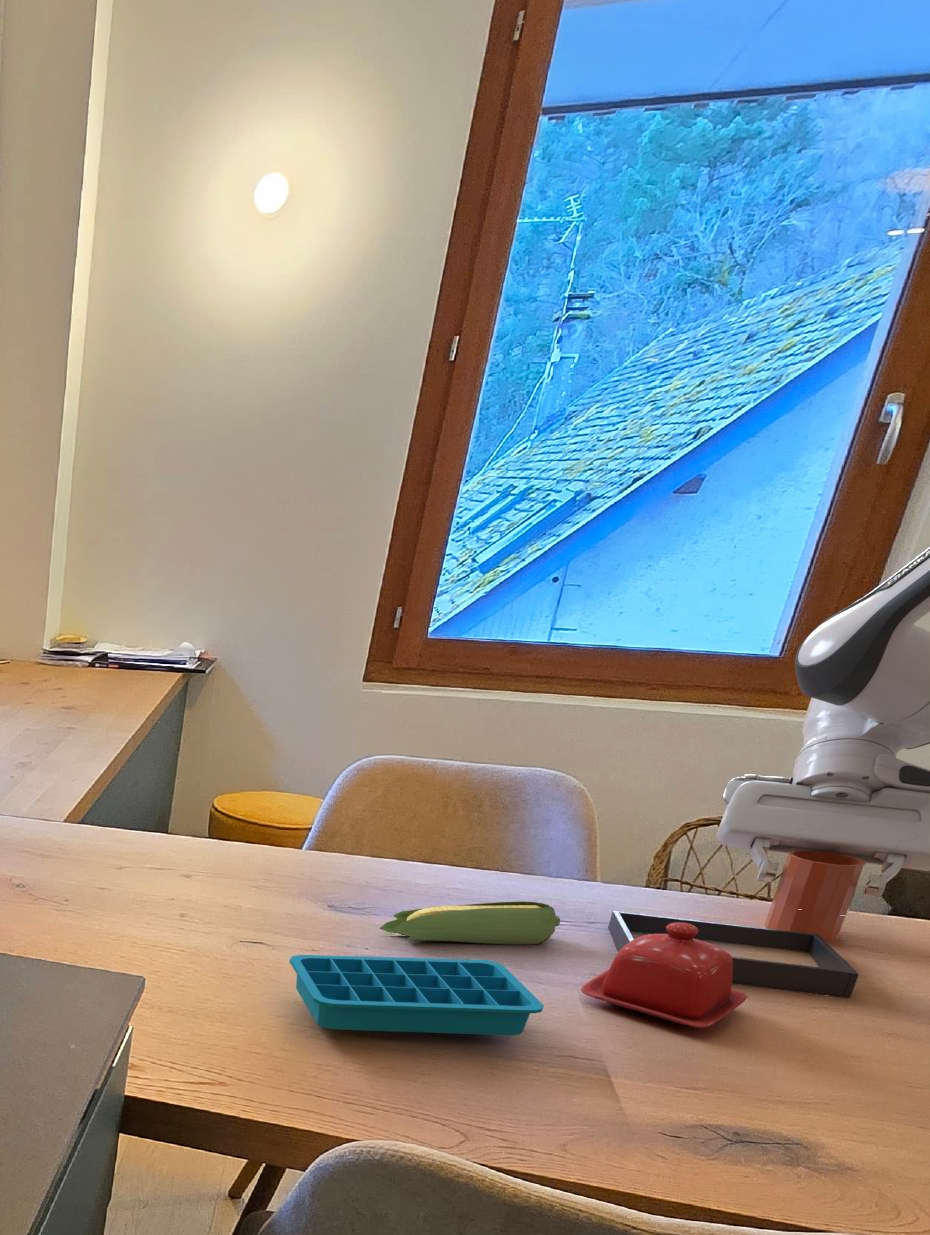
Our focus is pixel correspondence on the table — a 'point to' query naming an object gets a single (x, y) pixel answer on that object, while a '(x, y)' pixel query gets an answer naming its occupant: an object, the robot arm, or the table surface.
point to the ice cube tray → (413, 994)
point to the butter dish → (670, 978)
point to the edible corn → (478, 923)
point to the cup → (815, 893)
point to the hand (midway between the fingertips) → (818, 886)
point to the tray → (822, 980)
